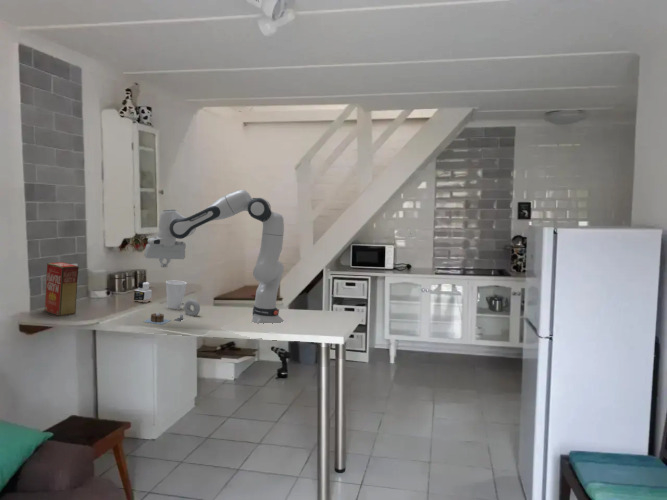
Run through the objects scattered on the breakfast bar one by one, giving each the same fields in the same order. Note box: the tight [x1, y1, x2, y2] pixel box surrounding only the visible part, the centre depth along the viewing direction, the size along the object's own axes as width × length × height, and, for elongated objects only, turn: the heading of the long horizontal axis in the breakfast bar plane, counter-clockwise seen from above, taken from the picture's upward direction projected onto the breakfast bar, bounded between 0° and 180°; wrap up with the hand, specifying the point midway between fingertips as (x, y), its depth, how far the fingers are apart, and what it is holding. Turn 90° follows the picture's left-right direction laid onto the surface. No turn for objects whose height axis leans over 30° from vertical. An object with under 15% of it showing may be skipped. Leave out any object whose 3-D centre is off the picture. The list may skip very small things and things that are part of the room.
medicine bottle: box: [133, 281, 153, 301], centre depth 296 cm, size 7×7×12 cm
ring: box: [150, 312, 165, 322], centre depth 255 cm, size 6×6×3 cm
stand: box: [173, 313, 184, 322], centre depth 263 cm, size 6×6×4 cm
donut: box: [183, 298, 201, 317], centre depth 275 cm, size 10×4×10 cm, turn 68°
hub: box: [143, 312, 171, 325], centre depth 255 cm, size 10×10×5 cm
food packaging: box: [43, 261, 80, 317], centre depth 252 cm, size 13×9×25 cm
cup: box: [165, 279, 188, 311], centre depth 287 cm, size 12×12×16 cm
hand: (164, 267), depth 255 cm, fingers closed
